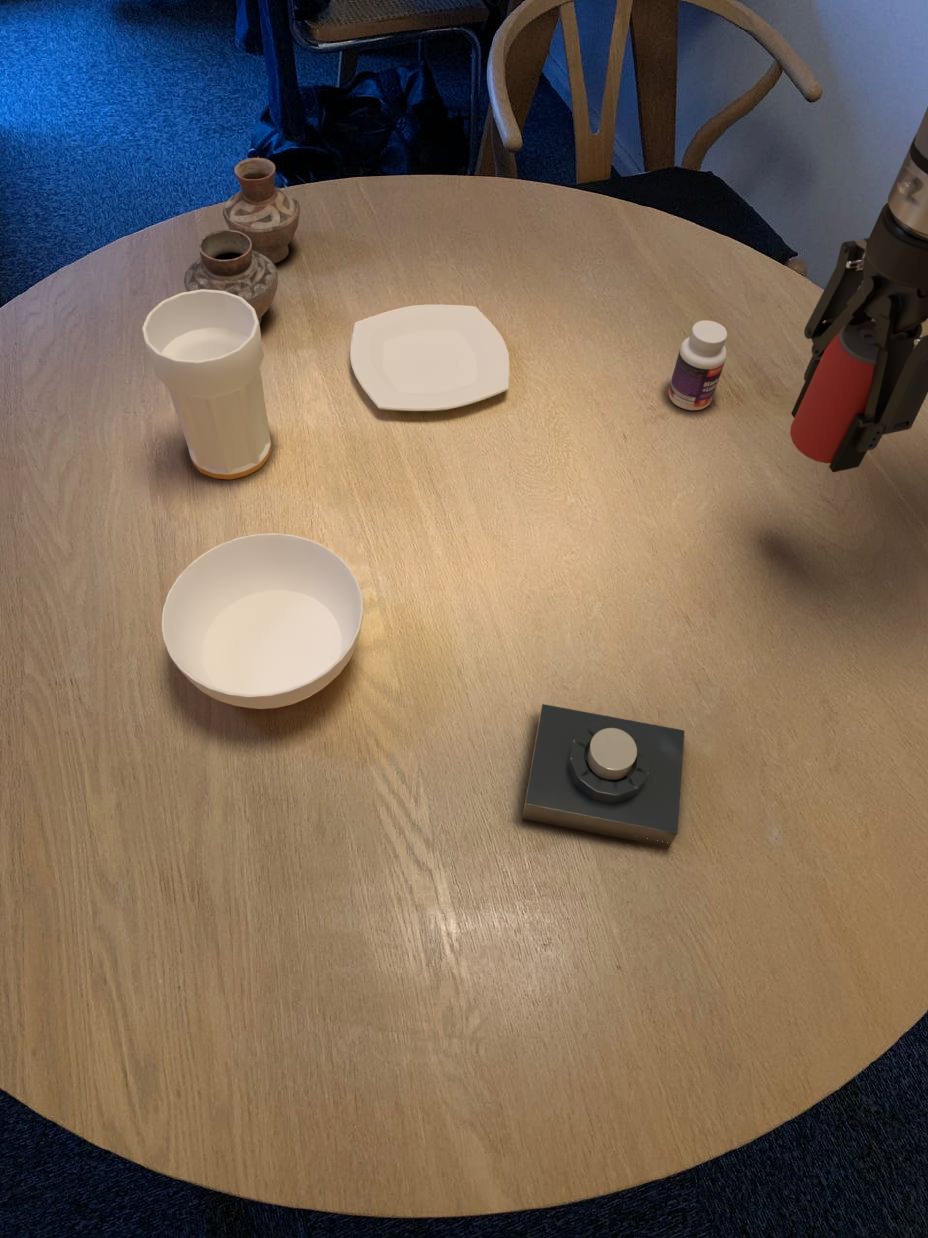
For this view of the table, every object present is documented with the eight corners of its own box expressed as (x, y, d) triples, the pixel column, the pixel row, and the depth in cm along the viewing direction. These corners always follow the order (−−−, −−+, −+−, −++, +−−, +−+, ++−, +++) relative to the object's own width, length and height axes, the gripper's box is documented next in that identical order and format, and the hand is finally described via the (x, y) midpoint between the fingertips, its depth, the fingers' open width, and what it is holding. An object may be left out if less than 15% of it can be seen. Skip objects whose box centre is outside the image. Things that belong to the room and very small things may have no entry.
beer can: (840, 414, 91) (891, 311, 81) (869, 463, 88) (926, 362, 78) (777, 421, 90) (821, 318, 80) (803, 471, 87) (853, 369, 77)
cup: (163, 474, 104) (120, 348, 89) (206, 406, 110) (172, 279, 96) (258, 497, 102) (230, 373, 88) (296, 427, 109) (276, 300, 94)
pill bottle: (702, 417, 112) (723, 352, 104) (660, 401, 113) (678, 335, 105) (718, 391, 114) (740, 326, 106) (677, 375, 116) (696, 309, 108)
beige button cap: (634, 743, 82) (639, 732, 80) (630, 784, 79) (635, 774, 78) (589, 734, 82) (592, 723, 80) (584, 775, 80) (587, 765, 78)
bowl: (406, 656, 91) (405, 614, 85) (255, 773, 84) (242, 736, 78) (289, 548, 98) (280, 503, 92) (141, 648, 91) (120, 605, 85)
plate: (526, 408, 112) (527, 395, 110) (367, 432, 108) (366, 419, 107) (485, 308, 122) (486, 295, 120) (339, 327, 119) (337, 314, 117)
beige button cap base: (676, 746, 87) (689, 720, 83) (669, 847, 81) (682, 825, 77) (538, 720, 88) (544, 694, 84) (522, 818, 82) (527, 795, 78)
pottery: (315, 235, 130) (306, 151, 120) (272, 353, 116) (258, 269, 106) (235, 227, 130) (220, 142, 120) (183, 343, 116) (160, 258, 106)
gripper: (824, 153, 74) (741, 378, 93) (968, 305, 64) (842, 523, 83) (906, 141, 76) (807, 365, 95) (1059, 288, 65) (914, 506, 84)
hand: (824, 439), depth 89 cm, fingers closed on beer can, 7 cm apart
